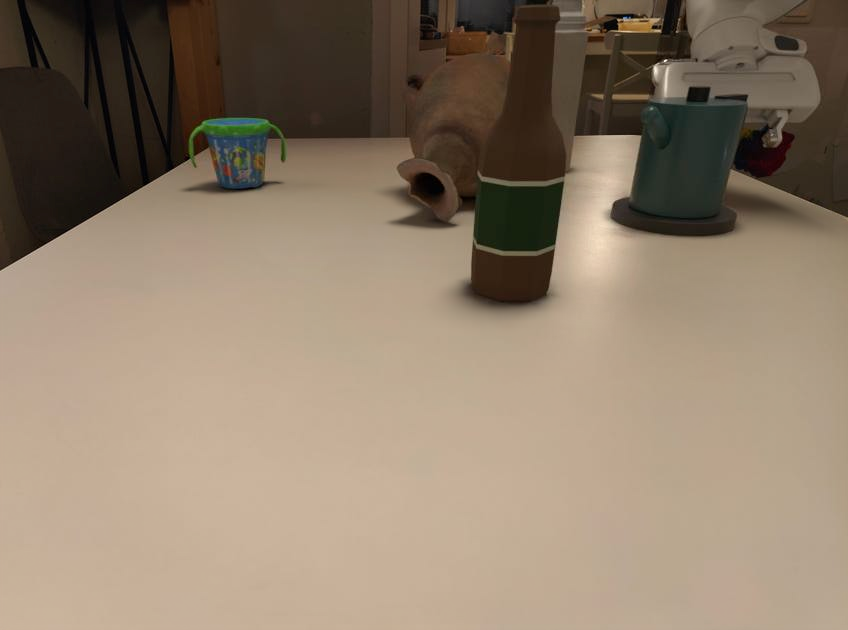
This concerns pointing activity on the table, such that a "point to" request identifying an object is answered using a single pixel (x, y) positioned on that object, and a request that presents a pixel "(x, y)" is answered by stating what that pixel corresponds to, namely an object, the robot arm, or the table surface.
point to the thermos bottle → (568, 69)
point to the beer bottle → (521, 172)
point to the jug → (451, 128)
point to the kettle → (687, 153)
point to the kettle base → (673, 221)
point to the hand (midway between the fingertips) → (739, 144)
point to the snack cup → (237, 149)
